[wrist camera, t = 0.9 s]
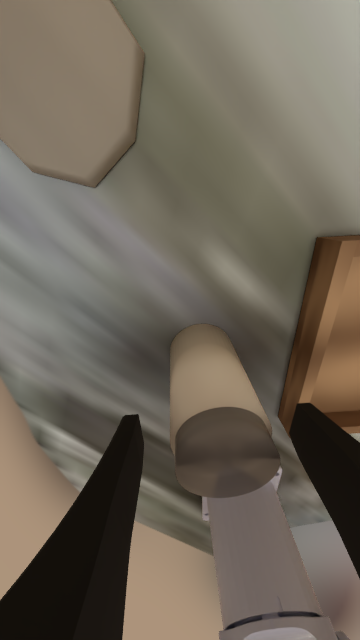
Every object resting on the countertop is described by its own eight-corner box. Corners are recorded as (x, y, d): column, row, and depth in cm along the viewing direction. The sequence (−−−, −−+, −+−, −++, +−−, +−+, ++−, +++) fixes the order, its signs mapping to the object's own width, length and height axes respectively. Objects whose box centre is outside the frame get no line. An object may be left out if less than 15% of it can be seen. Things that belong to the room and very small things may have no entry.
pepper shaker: (229, 373, 16) (276, 496, 9) (172, 376, 16) (173, 504, 9) (233, 321, 14) (296, 426, 7) (168, 325, 14) (165, 435, 7)
